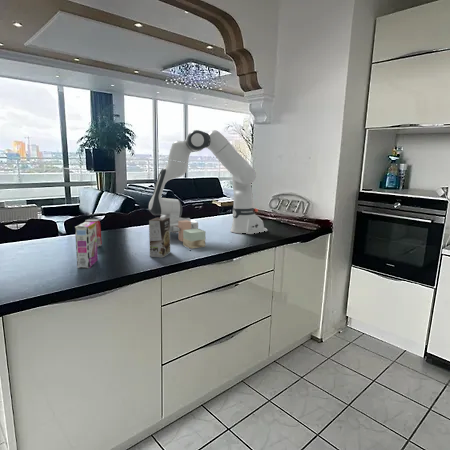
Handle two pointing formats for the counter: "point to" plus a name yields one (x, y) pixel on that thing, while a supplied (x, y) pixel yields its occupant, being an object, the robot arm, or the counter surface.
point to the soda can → (97, 230)
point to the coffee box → (159, 237)
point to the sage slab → (194, 234)
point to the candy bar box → (86, 244)
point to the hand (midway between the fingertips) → (185, 229)
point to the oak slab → (193, 243)
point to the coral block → (183, 228)
